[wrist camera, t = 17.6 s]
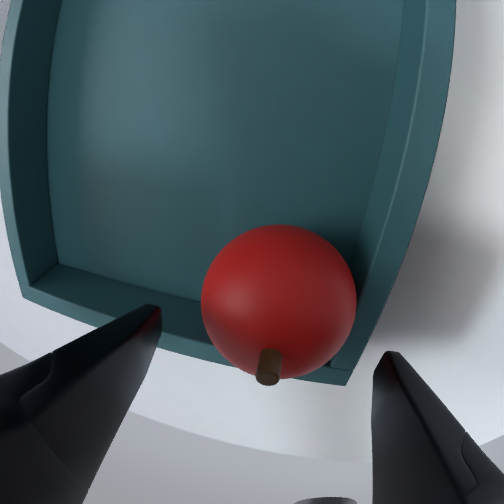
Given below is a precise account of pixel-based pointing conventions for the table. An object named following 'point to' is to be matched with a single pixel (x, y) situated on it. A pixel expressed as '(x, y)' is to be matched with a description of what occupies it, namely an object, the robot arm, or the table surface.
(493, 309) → the table surface
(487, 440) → the table surface
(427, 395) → the robot arm
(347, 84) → the tray
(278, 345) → the apple
